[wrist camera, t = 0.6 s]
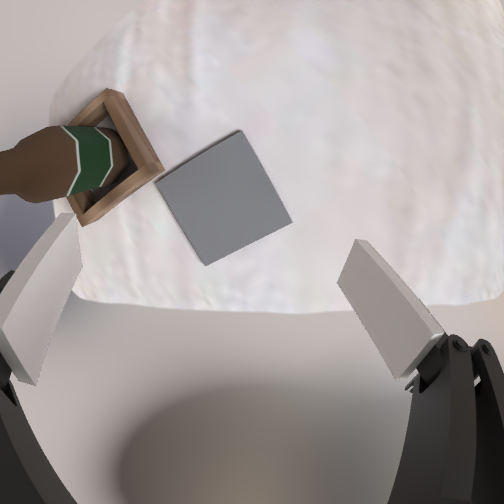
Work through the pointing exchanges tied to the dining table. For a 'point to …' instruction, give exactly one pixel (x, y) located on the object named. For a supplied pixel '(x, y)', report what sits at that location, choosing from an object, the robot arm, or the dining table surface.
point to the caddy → (135, 143)
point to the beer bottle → (62, 162)
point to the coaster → (224, 199)
